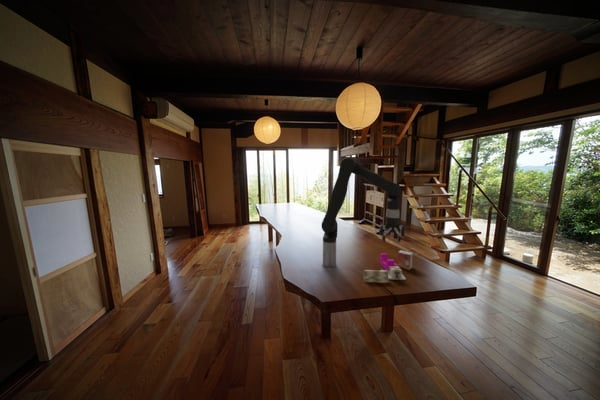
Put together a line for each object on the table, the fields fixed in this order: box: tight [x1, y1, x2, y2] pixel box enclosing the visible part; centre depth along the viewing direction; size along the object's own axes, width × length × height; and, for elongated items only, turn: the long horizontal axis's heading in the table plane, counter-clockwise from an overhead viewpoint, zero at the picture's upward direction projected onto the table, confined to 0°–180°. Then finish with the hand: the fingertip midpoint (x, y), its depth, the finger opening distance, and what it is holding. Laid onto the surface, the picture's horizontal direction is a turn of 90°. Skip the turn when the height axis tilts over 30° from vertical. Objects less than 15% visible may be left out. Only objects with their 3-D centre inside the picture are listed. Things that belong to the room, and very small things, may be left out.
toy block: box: [380, 252, 398, 272], centre depth 139 cm, size 15×6×8 cm, turn 177°
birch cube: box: [389, 266, 403, 280], centre depth 126 cm, size 6×6×6 cm
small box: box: [396, 249, 414, 271], centre depth 141 cm, size 8×6×10 cm
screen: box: [363, 269, 390, 284], centre depth 123 cm, size 14×3×6 cm, turn 83°
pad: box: [379, 269, 407, 281], centre depth 130 cm, size 12×11×1 cm
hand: (391, 241), depth 129 cm, fingers open, 8 cm apart
